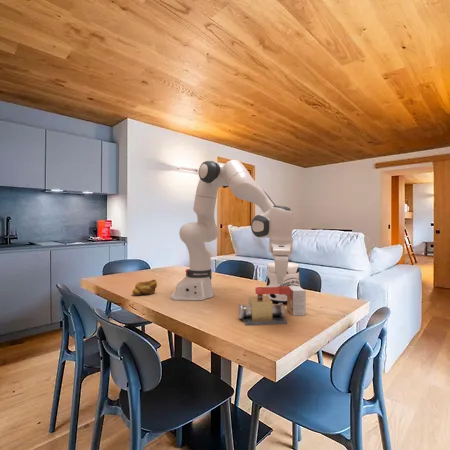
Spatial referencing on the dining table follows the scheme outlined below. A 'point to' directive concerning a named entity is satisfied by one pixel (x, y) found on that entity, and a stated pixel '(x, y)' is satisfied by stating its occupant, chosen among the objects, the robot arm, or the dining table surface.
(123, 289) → the dining table surface
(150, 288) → the bread roll
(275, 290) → the lever
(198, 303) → the dining table surface
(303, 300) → the small box
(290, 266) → the milk container
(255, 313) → the valve
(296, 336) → the dining table surface
